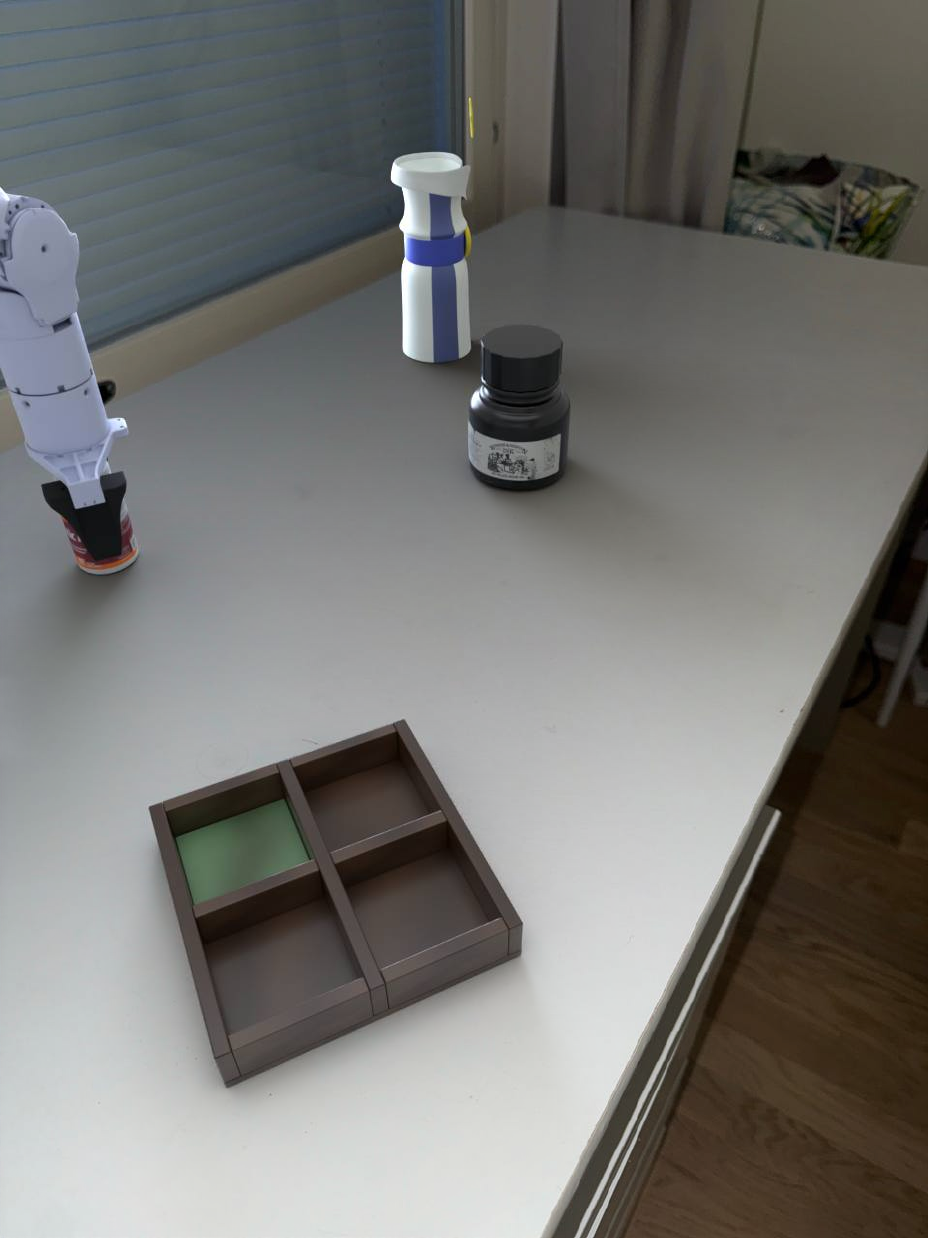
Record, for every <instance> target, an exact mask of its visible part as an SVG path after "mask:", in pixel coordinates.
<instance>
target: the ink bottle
mask: <svg viewBox="0 0 928 1238" xmlns="http://www.w3.org/2000/svg"><path fill="white" fill-rule="evenodd" d="M563 345H564V340H563V339H562V337H561V335H560V333H557V332H556V331H554V330H552V329H551V328H547V327H543V326H541V325H540V326H539V325H533V324H524V323H520V324H506V325H503V326H498V327H494V328H492V329H491V330H489V331H487V332H484V333H483V336H482V338H481V339H480V375H481V376H480V381H481V384H482V385H479V387H478V388H476V390H475V391H474V392H473V393H472V394H471V397H470V400H469V404H468V419H467V430H468V431H467V433H468V434H467V441H468V459H469V460H468V461H469V467H470V470H471V471H472V473H473V475H475V477H477V478H478V479H479V480H481V481H482V482H484V483H486V484H490V485H492V486H495V487H498V488H499V487H500V488H504V489H512V490H531V489H532V490H533V489H537V488H542V487H545V486H549V485H550V484H552V483H553V482H554V481H555V482H556V480H558V479H559V478H560V477H561V476H562V475H563V473H564V472H565V471H566V468H567V463H568V454H569V439H570V425H571V424H570V423H571V407H572V406H571V405H572V404H571V400H570V397H569V395H568V394H567V392H566V391H565V390H564V389H563V388H562V387H560V386H559V385H560V382H561V376H562V366H563V365H562V364H563V348H564V347H563Z"/></svg>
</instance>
